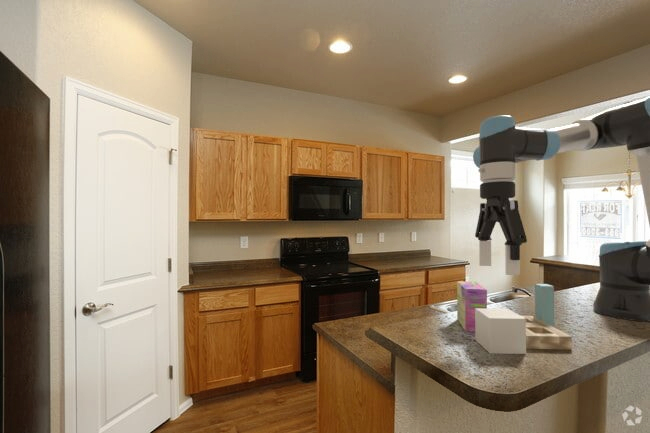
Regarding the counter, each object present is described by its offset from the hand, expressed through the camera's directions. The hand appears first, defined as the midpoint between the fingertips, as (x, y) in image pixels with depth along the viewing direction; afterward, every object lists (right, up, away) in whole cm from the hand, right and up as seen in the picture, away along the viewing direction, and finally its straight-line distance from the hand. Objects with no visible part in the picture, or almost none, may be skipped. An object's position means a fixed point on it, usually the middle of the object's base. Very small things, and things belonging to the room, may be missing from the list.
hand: (497, 269), depth 76 cm
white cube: (0, -18, 0) cm, 18 cm away
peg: (+20, -18, +13) cm, 30 cm away
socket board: (+12, -18, +6) cm, 23 cm away
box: (0, -19, +15) cm, 24 cm away
